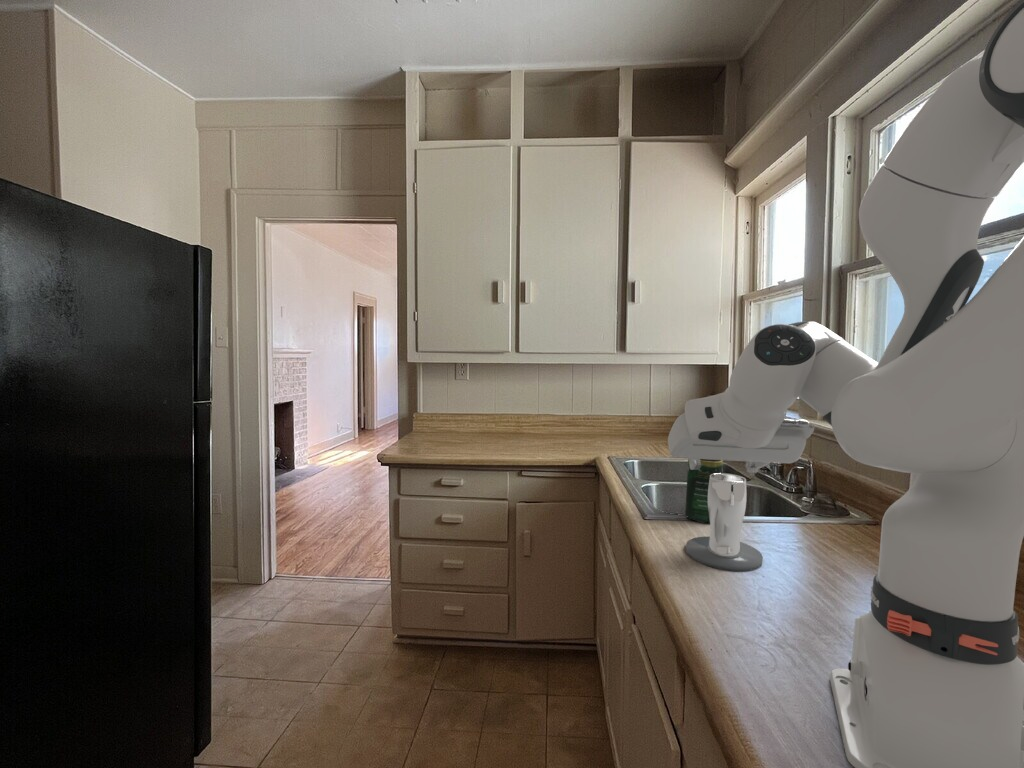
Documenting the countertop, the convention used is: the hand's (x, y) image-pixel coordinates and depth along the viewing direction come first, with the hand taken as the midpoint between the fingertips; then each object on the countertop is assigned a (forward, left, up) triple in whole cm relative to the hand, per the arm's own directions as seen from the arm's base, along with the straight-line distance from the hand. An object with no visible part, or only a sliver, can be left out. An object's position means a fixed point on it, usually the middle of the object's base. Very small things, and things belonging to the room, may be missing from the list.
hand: (721, 467), depth 83 cm
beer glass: (+12, +2, -20) cm, 23 cm away
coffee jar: (+32, +12, -21) cm, 40 cm away
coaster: (+12, +2, -20) cm, 24 cm away
